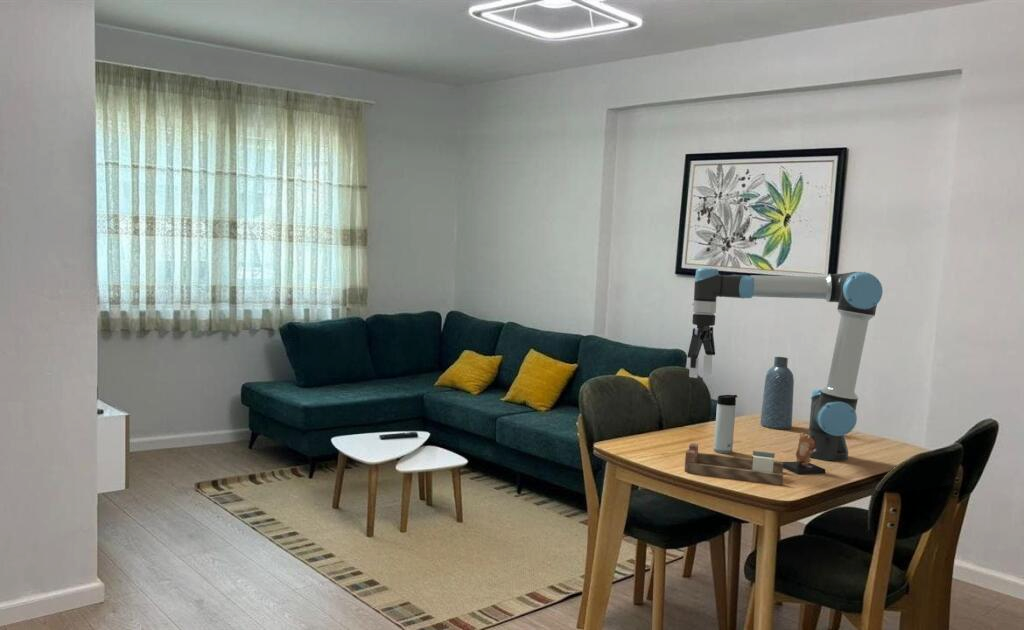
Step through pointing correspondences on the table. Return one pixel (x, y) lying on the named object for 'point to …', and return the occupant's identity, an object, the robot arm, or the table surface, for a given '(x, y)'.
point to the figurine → (804, 458)
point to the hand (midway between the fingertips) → (700, 375)
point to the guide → (728, 472)
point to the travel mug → (725, 424)
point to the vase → (778, 396)
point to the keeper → (763, 461)
